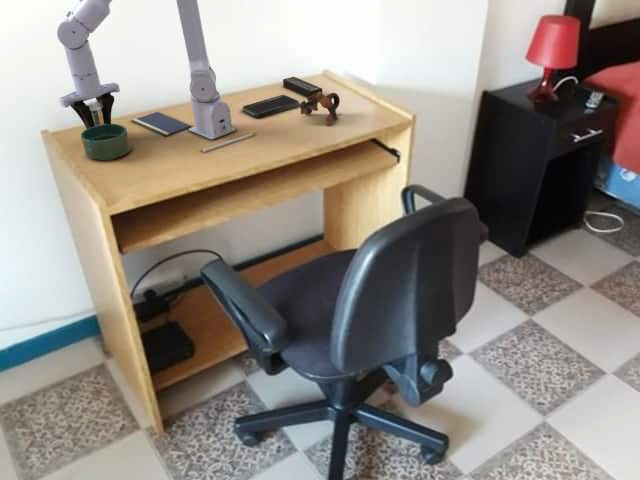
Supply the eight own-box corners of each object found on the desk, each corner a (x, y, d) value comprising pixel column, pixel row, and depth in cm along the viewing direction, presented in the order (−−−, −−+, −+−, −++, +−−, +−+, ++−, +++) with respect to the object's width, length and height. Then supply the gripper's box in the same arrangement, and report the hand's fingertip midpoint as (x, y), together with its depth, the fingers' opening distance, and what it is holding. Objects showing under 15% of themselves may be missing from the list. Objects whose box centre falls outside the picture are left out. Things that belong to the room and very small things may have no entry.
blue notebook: (191, 127, 154) (190, 125, 153) (165, 136, 149) (165, 134, 148) (157, 113, 161) (157, 111, 161) (132, 121, 156) (131, 119, 156)
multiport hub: (294, 83, 182) (293, 76, 180) (323, 96, 173) (322, 88, 172) (282, 86, 179) (282, 79, 178) (311, 99, 171) (311, 91, 169)
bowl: (140, 151, 141) (135, 131, 138) (101, 165, 135) (95, 145, 132) (116, 140, 147) (111, 120, 143) (78, 153, 140) (72, 133, 137)
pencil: (255, 134, 150) (204, 151, 141) (254, 136, 150) (204, 153, 142) (253, 131, 150) (202, 148, 141) (252, 134, 150) (202, 150, 142)
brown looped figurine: (324, 131, 153) (307, 103, 150) (305, 136, 161) (289, 109, 157) (353, 108, 158) (338, 80, 155) (334, 113, 166) (319, 87, 163)
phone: (240, 106, 162) (283, 94, 170) (241, 110, 163) (283, 98, 171) (257, 115, 157) (300, 101, 166) (257, 118, 158) (300, 105, 166)
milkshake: (106, 142, 145) (97, 103, 139) (87, 140, 146) (77, 101, 140) (116, 135, 149) (107, 96, 143) (97, 133, 150) (87, 95, 144)
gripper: (102, 62, 144) (116, 114, 152) (46, 76, 135) (63, 131, 143) (118, 67, 141) (131, 121, 149) (61, 83, 131) (78, 139, 140)
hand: (99, 126), depth 146 cm, fingers closed on milkshake, 4 cm apart
